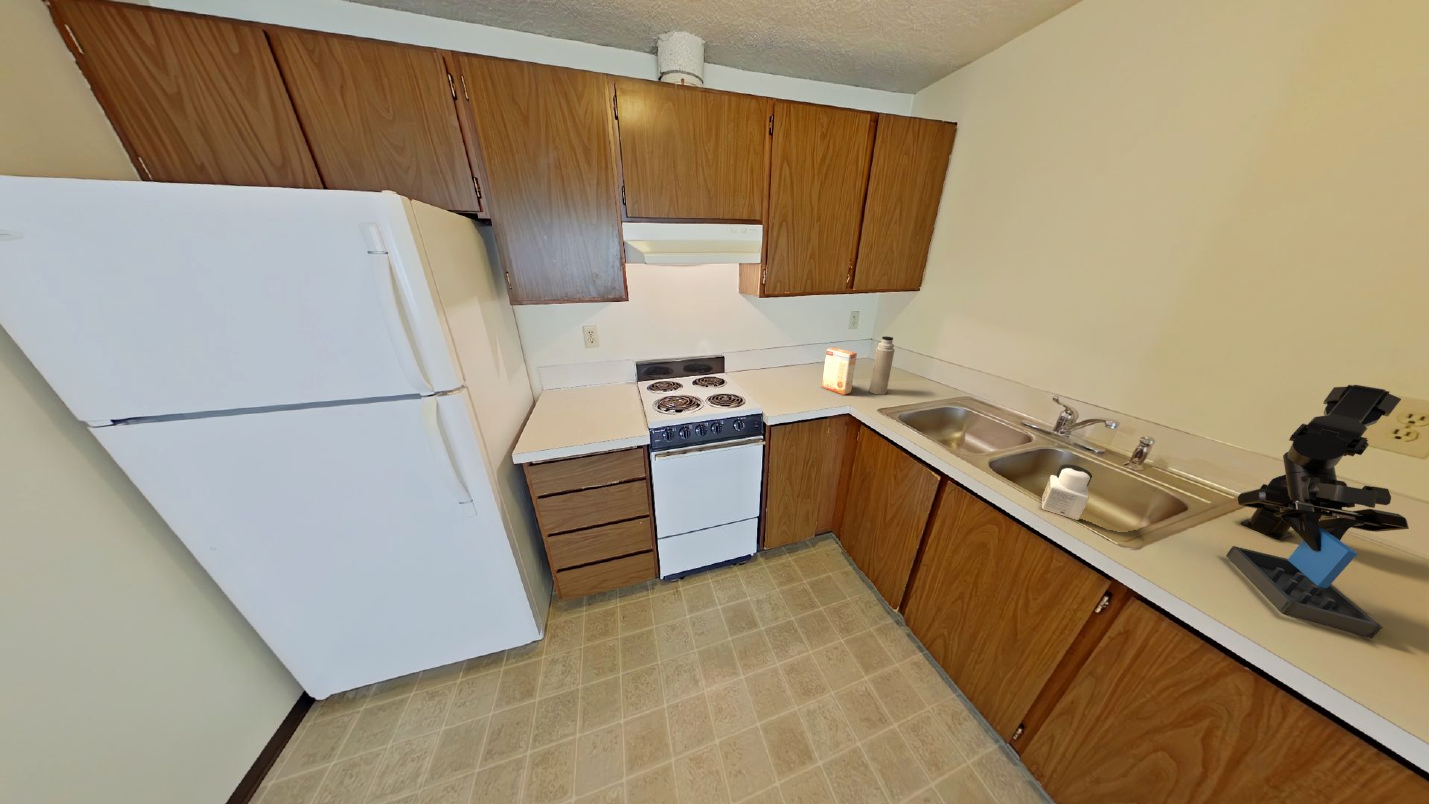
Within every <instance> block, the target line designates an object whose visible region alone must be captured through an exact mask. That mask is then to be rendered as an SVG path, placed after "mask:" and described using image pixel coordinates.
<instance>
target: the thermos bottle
mask: <svg viewBox="0 0 1429 804" xmlns="http://www.w3.org/2000/svg"><path fill="white" fill-rule="evenodd" d="M893 340H894V337H892V336H888V335H887V336H882V337H881V341H880V342H879V343H878V346H877V347H876V351H875V357H874V361H873V366H872V373H871V379H870V383H869V384H870V385H869V392H870V393H871V394H874V395H875V394H876V395H886V394H887V391H888V385H889V381H890V376H891V371H892V365H893V361H894V360H893V359H894V355H895V348H894V347H895V344H894V343H893Z"/></svg>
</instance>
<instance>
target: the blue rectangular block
mask: <svg viewBox="0 0 1429 804" xmlns="http://www.w3.org/2000/svg"><path fill="white" fill-rule="evenodd" d="M1319 533H1320V539H1321V551H1314V550H1312V549H1311V548H1310V547H1309V546H1308V545H1307V543H1306V542H1305V541H1304V540H1303V539H1302V540H1301V542H1300V543H1299V544H1298V546H1297V547H1296V548H1295V550H1294V551H1293V552H1292V553H1291V554H1290V556H1289V557H1288V558H1287V559H1288V561H1289V562H1290V563H1292V564H1293V565H1294V566H1295V567H1296V568H1297V569H1299V570H1300V571H1301V572H1302V573H1303V574H1304V575H1305V576H1307V577H1308V578H1309V579H1310V580H1311V581H1312V582H1314V583H1315V584H1316V585H1317V586H1319V587H1323V588H1328V587H1329V586H1330V584H1333V582H1334V581H1335V580H1336V579H1337V578H1338V577H1339V576H1340V574H1341V573H1343V571H1344V570H1345V569H1346V568H1347V567H1348V565H1350V563H1351V562H1352V561H1353V560H1354V559H1355V558H1356V556H1357V555H1358V554H1359V553H1358V552H1356V550H1354V549H1352V548H1351V547H1350V546H1349V545H1347V544H1345V542H1343V541H1342V540H1338V539H1337V538H1336V537H1334V536H1333V535H1331V534H1330V533H1329V532H1327V531H1326V530H1324V529H1323V528H1319Z"/></svg>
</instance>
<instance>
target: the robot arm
mask: <svg viewBox="0 0 1429 804" xmlns="http://www.w3.org/2000/svg"><path fill="white" fill-rule="evenodd" d="M1390 392H1391V391H1389V390H1386V389H1384V388H1379V387H1372V386H1366V385H1360V384H1348V385H1346V386H1334V387H1333V388H1331V391H1330V392H1329V393H1328V395H1327V396H1326V397H1325V398H1324V400H1323V403H1322V404H1323V405H1326V406H1325V408H1324V410H1323V415H1318V416H1314V417H1313V418H1312V419H1311V420H1310V421H1309V422H1308V424H1306V423H1301V424H1300V425H1299V427H1298V428H1296V429H1295V431H1294V432H1293V433H1292V434H1291V435H1290V436H1289V439H1288V441H1290V442H1292V444H1291V445H1290V447H1289V449H1288V451H1287V452H1285V453H1284V454H1283V455H1282V459H1283V466H1284V472H1285V474H1283V475H1280V476H1276V477H1274V478H1273V477H1272V479H1271V480H1270V481H1269V483H1268V484H1265V483H1263V484H1262V485H1261V486H1260V487H1259V488H1256V489H1251V490H1247V491H1243V492H1241V493H1239V495H1238V496H1237V505H1239V506H1242V507H1245V508H1246V507H1247V508H1252V509H1256V510H1255V511H1254V512H1253V513H1252V515H1251V516H1250V518H1248V519H1245V520H1241V521H1240V522H1239V524H1240V525H1242V526H1245V527H1247V528H1249V529H1251V530H1253V531H1256V532H1258V533H1260V534H1263V535H1265V536H1268V537H1270V538H1273V539H1275V540H1277V541H1281V540H1283V539H1286V538H1288V537H1291V536H1293V533H1292V532H1290V531H1289V530H1290V529H1292V530H1293V531H1294V532H1295V533H1296V534H1297V535H1298V536H1299V538H1301V539H1302V541H1303V540H1304V541H1305V542H1306V543H1307V545H1308V546H1309V547H1310V548H1311V549H1312V550H1314V551H1321V539H1320V533H1319V528H1323V529H1324V530H1326V531H1327V532H1329V533H1330V534H1331V535H1333V536H1334V537H1336V538H1337V539H1338V540H1340V541H1342V538H1343V537H1344V535H1345V534H1346V533H1347V531H1348V530H1349V529H1351V528H1352V529H1357V530H1361V531H1367V532H1376V533H1378V532H1390V531H1400V530H1401V531H1402V530H1409V529H1410V527H1409V524H1408V520H1407V518H1406V517H1405V516H1403V515H1401V514H1400V513H1395V512H1389V511H1384V510H1379V509H1375V508H1376V505H1381V506H1388V505H1390V504H1391V501H1392V495H1391V492H1390V490H1389V488H1386V487H1379V486H1370V485H1363V487H1362V488H1359V487H1354V486H1348V483H1346V481H1343V480H1338V479H1337V473H1336V468H1335V467H1336V466H1337V465H1338V464H1339V463H1340V461H1341V460H1342V459H1343V457H1347V456H1350V457H1354V456H1355V455H1358V456H1362V455H1363V454H1364V452H1365V451H1366V450H1367V448H1368V447H1369V445H1370V443H1368V442H1369V439H1368V437H1364V436H1363V435H1364V434H1365V432H1367V430H1368V427H1369V426H1373V425H1375V424H1377V423H1378V422H1379V420H1380V419H1381V417H1382V416H1384V417H1389V416H1390V415H1391V414H1392V412H1393V411H1394V409H1396V407H1397V406H1398V404H1399V403H1400V402H1401V400H1402V398H1401V397H1398V396H1395V395H1393V394H1391V393H1390ZM1356 505H1359V506H1364V507H1368V508H1364V509H1359V510H1347V509H1349V508H1356ZM1343 508H1347V509H1343Z"/></svg>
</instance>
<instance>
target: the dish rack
mask: <svg viewBox="0 0 1429 804" xmlns="http://www.w3.org/2000/svg"><path fill="white" fill-rule="evenodd" d="M1225 557H1226V558H1227V559H1228V560H1229V561H1230V562H1231V563H1232V564H1233V565H1234V566H1235V568H1237V569H1238V570H1239V571H1240V572H1241V573H1242V575H1244V576H1245V578H1246V579H1248V581H1250V582H1251V584H1252V585H1253V586H1254V587H1255V588H1256V589H1257V590H1258V591H1259V592H1260V593H1261V594H1262V595H1263V596H1264V597H1265V598H1266V599H1267V600H1268V601H1269V602H1270V603H1271V604H1272V606H1274V608H1276V610H1277V611H1279V613H1281V614H1282V615H1285V616H1289V617H1292V618H1296V619H1299V620H1303V621H1306V622H1309V623H1314V624H1317V625H1321V626H1325V627H1329V628H1331V629H1336V630H1340V631H1342V632H1347V633H1350V634H1354V635H1357V636H1361V637H1364V638H1368V639H1374V638H1375V637H1376V636H1377V635H1378V634H1379V633H1380V632H1381V631H1383V629H1384V627H1383V626H1382V625H1381V624H1380V623H1379V622H1377V620H1375V619H1374V618H1373V617H1371V615H1369V614H1368V613H1367V612H1365V611H1364V610H1363V609H1362V608H1361V607H1360V606H1358V605H1357V604H1356V603H1355V602H1353V601H1352V600H1351V599H1350V598H1349V597H1348V596H1347V595H1345V594H1344V593H1343V592H1342V591H1341V590H1339V589H1338V588H1337V587H1336V586H1335V585H1333V583H1331V584H1330V586H1329V587H1328V588H1323V587H1319V586H1317V585H1316V584H1315V583H1314V582H1312V581H1311V580H1310V579H1309V578H1308V577H1307V576H1305V575H1304V574H1303V573H1302V572H1301V571H1300V570H1299V569H1297V568H1296V567H1295V566H1294V565H1293V564H1292V563H1290V562H1289V561H1288V558H1287V557H1282V556H1277V555H1273V554H1268V553H1264V552H1261V551H1256V550H1251V549H1248V548H1244V547H1239V546H1235V545H1232V546H1231V548H1230V549H1229V551H1227V554H1226V555H1225Z"/></svg>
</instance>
